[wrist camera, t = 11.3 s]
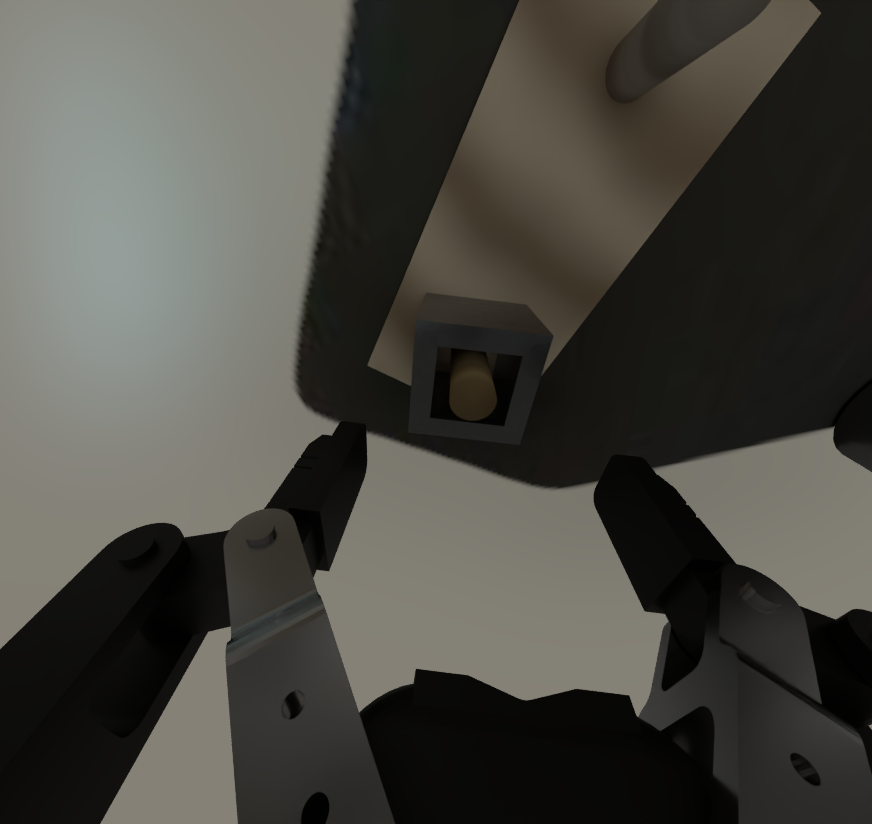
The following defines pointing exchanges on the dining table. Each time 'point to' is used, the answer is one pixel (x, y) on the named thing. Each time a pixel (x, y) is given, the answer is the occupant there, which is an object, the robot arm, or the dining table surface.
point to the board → (580, 159)
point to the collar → (488, 332)
